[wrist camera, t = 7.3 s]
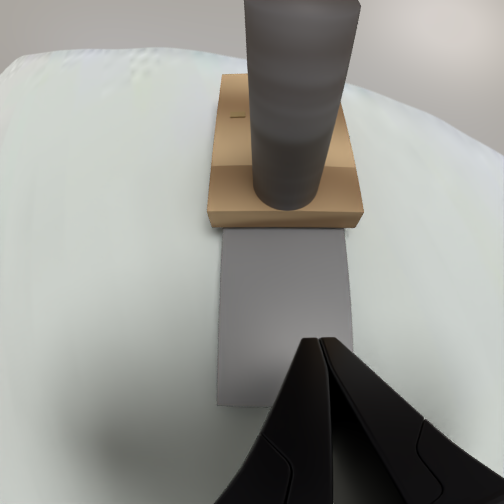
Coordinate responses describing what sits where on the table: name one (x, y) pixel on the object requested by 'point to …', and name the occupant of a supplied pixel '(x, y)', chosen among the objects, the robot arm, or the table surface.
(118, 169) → the table surface
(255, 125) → the wooden base with post
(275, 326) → the rail
